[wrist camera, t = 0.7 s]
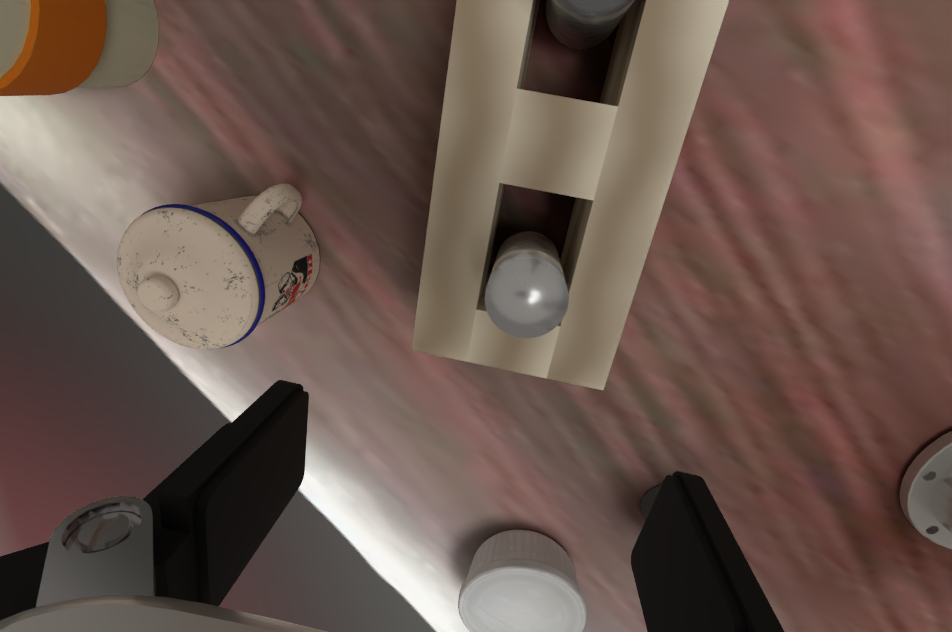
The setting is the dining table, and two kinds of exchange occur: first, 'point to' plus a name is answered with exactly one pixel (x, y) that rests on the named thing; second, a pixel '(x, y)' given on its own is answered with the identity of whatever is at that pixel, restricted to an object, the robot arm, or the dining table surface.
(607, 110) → the birch block
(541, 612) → the ramekin
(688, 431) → the dining table surface
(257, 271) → the teacup with lid
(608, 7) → the graphite peg
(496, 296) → the steel peg
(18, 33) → the reusable coffee cup
